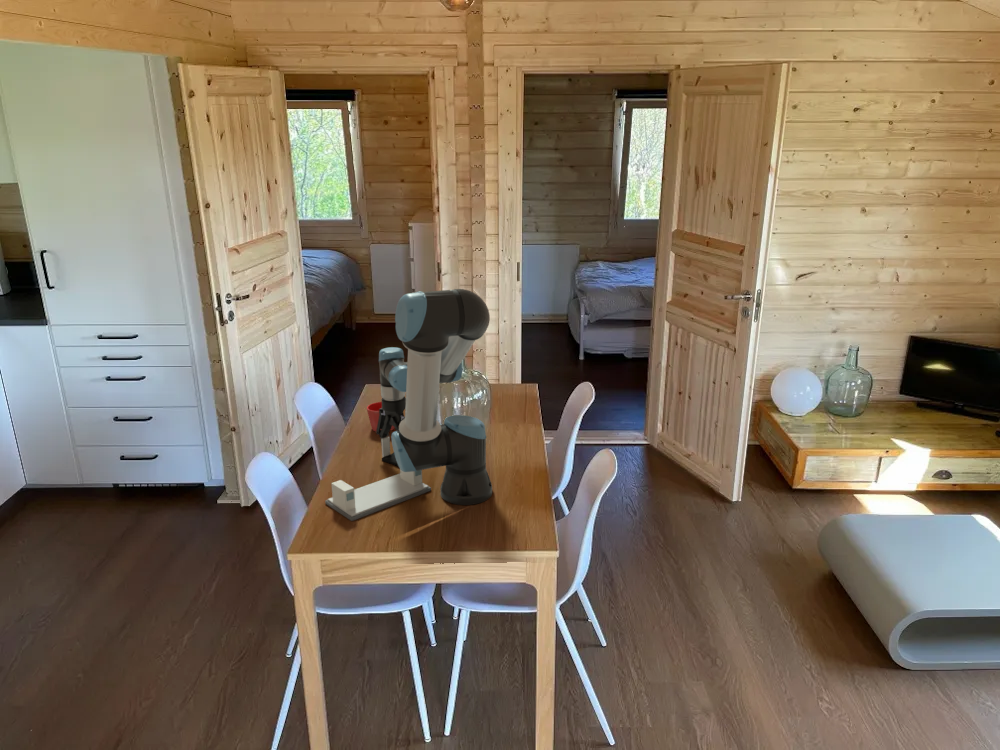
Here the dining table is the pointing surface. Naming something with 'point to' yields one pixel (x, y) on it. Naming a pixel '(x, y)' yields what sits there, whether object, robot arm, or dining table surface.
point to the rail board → (375, 494)
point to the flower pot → (375, 414)
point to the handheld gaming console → (390, 459)
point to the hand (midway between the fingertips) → (397, 461)
